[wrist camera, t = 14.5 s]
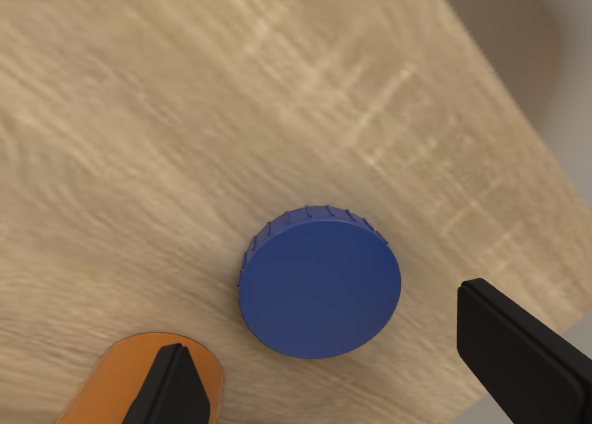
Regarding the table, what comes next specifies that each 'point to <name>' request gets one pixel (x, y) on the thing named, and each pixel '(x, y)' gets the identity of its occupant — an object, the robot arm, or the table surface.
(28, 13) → the table surface
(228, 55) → the table surface
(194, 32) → the table surface
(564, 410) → the robot arm
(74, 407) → the jam jar
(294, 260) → the jar lid
